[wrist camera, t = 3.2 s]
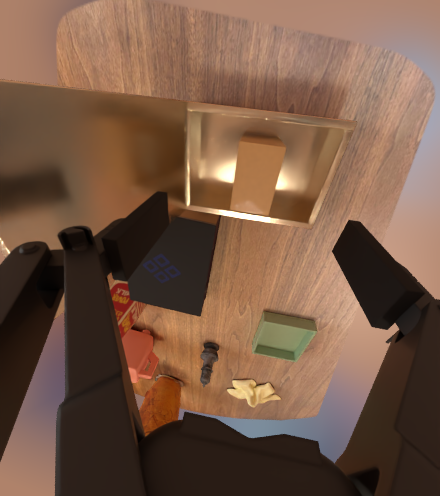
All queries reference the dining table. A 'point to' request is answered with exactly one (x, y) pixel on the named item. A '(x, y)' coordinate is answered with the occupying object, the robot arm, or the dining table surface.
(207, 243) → the book
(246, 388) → the cloth
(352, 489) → the robot arm
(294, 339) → the tray
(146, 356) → the teapot
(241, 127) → the gold metal box
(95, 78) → the dining table surface
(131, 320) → the milk carton
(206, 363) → the dark chess piece
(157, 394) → the vase
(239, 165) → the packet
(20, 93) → the lid
